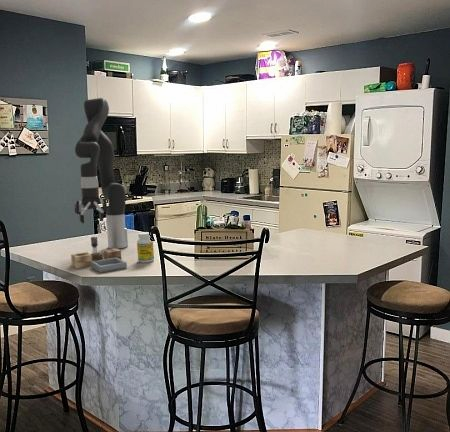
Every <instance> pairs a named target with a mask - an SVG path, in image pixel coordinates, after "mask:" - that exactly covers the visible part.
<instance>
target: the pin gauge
mask: <svg viewBox="0 0 450 432" xmlns="http://www.w3.org/2000/svg"><path fill="white" fill-rule="evenodd" d="M90 243H91V248H92V253H93V255H97V253H98V246H99V244H98V243H99V242H98V236H91V237H90Z"/></svg>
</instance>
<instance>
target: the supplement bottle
mask: <svg viewBox="0 0 450 432" xmlns="http://www.w3.org/2000/svg"><path fill="white" fill-rule="evenodd" d="M150 235H151V234H150ZM150 235H149V232H148V231H143V232H139V233H138V239H137V240H136V247H137V248H136V249H137V260H138V262H139V263H151V262H153V261H154V260H155V254H154V253H155V252H154V240H153V241H151V240H150V238H151V236H150Z"/></svg>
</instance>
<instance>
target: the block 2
mask: <svg viewBox="0 0 450 432" xmlns="http://www.w3.org/2000/svg"><path fill="white" fill-rule="evenodd" d="M110 258H118V259H120V260H122V250H121V249H120V248H119V249H116V248H114V249H111V248H108V249H104V250H103V260H104V259H110Z"/></svg>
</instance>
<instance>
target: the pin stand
mask: <svg viewBox="0 0 450 432" xmlns="http://www.w3.org/2000/svg"><path fill="white" fill-rule="evenodd" d="M90 254H91V255H92V261H98V260H104V255H103V254H102V253H101V252H97V255H93V252H92V253H90Z"/></svg>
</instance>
